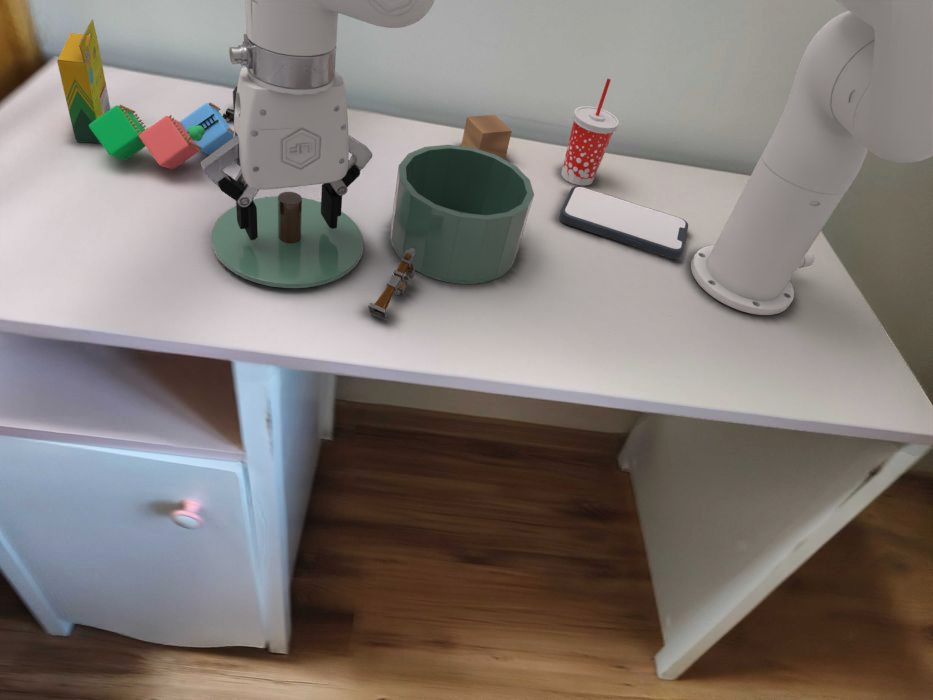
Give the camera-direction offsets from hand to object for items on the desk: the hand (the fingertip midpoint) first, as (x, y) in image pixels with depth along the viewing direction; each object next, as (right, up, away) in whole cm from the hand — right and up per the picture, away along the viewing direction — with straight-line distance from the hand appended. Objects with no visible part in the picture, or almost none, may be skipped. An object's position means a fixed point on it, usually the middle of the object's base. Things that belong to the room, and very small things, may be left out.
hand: (290, 225), depth 72 cm
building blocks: (-17, +10, +10) cm, 22 cm away
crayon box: (-27, +14, +11) cm, 32 cm away
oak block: (+21, +14, +24) cm, 35 cm away
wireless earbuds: (-10, +18, +20) cm, 28 cm away
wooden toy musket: (+11, -8, -1) cm, 13 cm away
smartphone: (+39, +3, +17) cm, 43 cm away
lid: (0, -1, +1) cm, 2 cm away
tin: (+17, -1, +8) cm, 19 cm away
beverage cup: (+34, +11, +25) cm, 44 cm away
